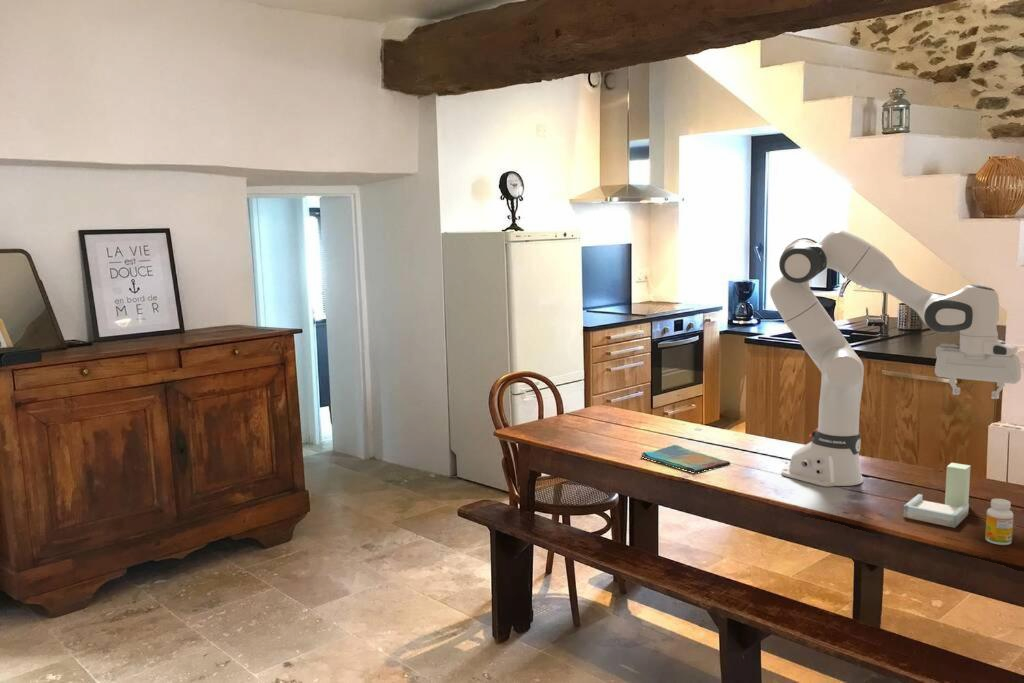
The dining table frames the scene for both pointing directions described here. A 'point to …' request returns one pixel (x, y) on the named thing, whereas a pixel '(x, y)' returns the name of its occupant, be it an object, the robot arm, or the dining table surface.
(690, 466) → the dish towel
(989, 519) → the supplement bottle
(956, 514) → the holder
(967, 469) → the green block
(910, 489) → the dining table surface
